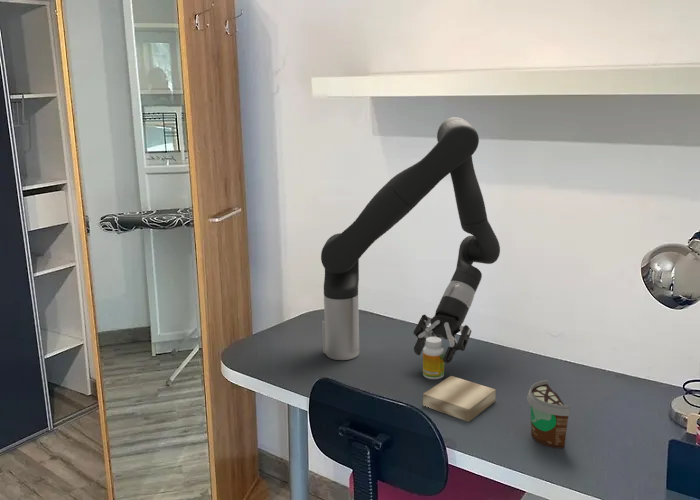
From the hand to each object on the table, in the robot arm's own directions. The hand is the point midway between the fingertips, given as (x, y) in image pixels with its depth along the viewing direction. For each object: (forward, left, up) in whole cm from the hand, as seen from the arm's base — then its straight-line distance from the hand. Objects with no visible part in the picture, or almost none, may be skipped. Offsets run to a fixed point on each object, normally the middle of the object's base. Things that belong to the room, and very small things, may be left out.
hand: (430, 357), depth 167 cm
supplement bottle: (0, +1, -5) cm, 6 cm away
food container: (+34, -10, -5) cm, 36 cm away
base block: (+13, -8, -5) cm, 16 cm away
